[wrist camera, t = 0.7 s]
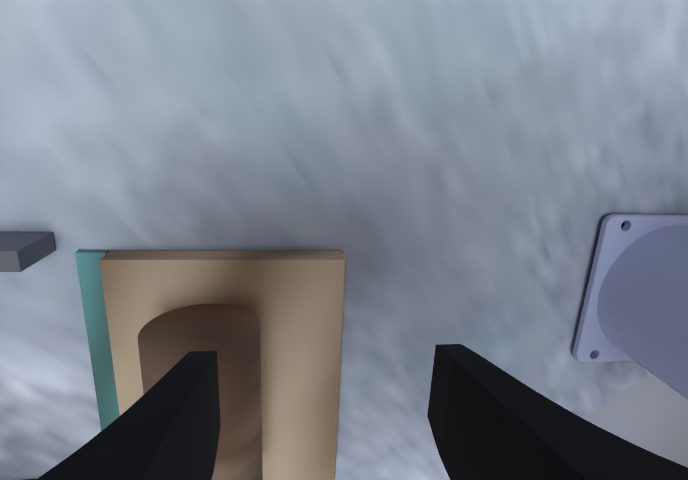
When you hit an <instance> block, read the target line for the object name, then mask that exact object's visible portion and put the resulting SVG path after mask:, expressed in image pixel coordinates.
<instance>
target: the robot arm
mask: <svg viewBox="0 0 688 480" xmlns="http://www.w3.org/2000/svg"><path fill="white" fill-rule="evenodd" d="M624 221H625V225H624V226H623V227H622V228H621V225H622V223H623V222H624ZM592 351H594V352H593V353H592V354H591V352H592ZM573 356H574V358H575V359H577V360H578V361H579V362H582V363H590V362H619V361H636V362H637V363H639V364H640V365H641V366H643V367H644V368H645V369H647V370H648V371H649V372H651V373H652V374H654V375H655V376H656V377H658V378H659V379H660V380H662V381H663V382H665V383H666V384H667V385H669V386H670V387H671V388H673V389H674V390H676V391H677V392H678V393H680V394H681V395H682V396H684V397H685V398H686V399H688V215H667V214H610V215H608V216H606V217H605V219H604V220H603V222H602V225H601V229H600V234H599V238H598V243H597V247H596V252H595V256H594V260H593V265H592V269H591V274H590V278H589V282H588V287H587V291H586V296H585V300H584V305H583V309H582V313H581V318H580V322H579V327H578V331H577V335H576V340H575V344H574V349H573ZM428 419H429V423H430V426H431V429H432V433H433V436H434V439H435V443H436V446H437V449H438V452H439V455H440V457H441V460H442V462H443V464H444V467H445V469H446V471H447V473H448V476H449V478H450V480H688V468H687V467H685V466H682V465H680V464H677V463H675V462H673V461H670V460H668V459H665V458H663V457H661V456H658V455H656V454H654V453H652V452H649V451H647V450H645V449H643V448H641V447H638V446H636V445H634V444H632V443H630V442H628V441H626V440H624V439H621V438H620V437H618V436H616V435H614V434H612V433H610V432H608V431H606V430H604V429H601V428H599V427H597V426H596V425H594V424H592V423H590V422H588V421H586V420H584V419H582V418H581V417H579V416H577V415H575V414H574V413H572V412H570V411H568V410H567V409H565V408H563V407H561V406H560V405H558V404H556V403H554V402H553V401H551V400H549V399H548V398H546V397H544V396H543V395H541V394H539V393H538V392H536V391H534V390H533V389H531V388H530V387H528V386H526V385H525V384H523V383H522V382H520V381H519V380H517V379H515V378H514V377H512V376H511V375H509V374H508V373H506V372H505V371H503V370H501V369H500V368H498V367H497V366H495V365H494V364H492V363H491V362H489V361H488V360H486V359H485V358H483V357H481V356H480V355H478V354H477V353H475V352H473V351H472V350H470V349H468V348H467V347H465V346H463V345H461V344H446V345H436V349H435V357H434V365H433V374H432V382H431V390H430V399H429V407H428ZM220 428H221V421H220V400H219V380H218V360H217V351H189V352H188V353H187V354H186V355H185V356H184V357H183V358H182V359H181V360H180V361H178V362H177V363H176V364H175V365H174V366H173V367H172V368H171V369H170V370H169V371H168V372H167V373H166V374H165V375H164V376H163V377H162V378H161V379H160V380H159V381H158V382H157V383H156V384H155V385H154V386H153V387H151V388H150V389H149V390H148V391H147V392H146V393H145V394H144V395H143V396H142V397H141V398H140V399H138V400H137V401H136V402H135V403H134V404H133V405H132V406H131V407H130V408H129V409H127V410H126V411H125V412H124V413H123V414H121V415H120V416H119V417H118V418H117V419H116V420H114V421H113V422H112V423H111V424H110V425H108V426H107V427H106V428H105V429H104V430H102V431H101V432H100V433H99V434H98V435H96V436H95V437H94V438H93V439H91V440H90V441H89V442H88V443H86V444H85V445H84V446H82V447H81V448H80V449H78V450H77V451H76V452H74V453H73V454H72V455H70V456H69V457H68V458H66V459H65V460H63V461H62V462H61V463H59V464H58V465H56V466H55V467H53V468H52V469H51V470H49V471H48V472H46V473H45V474H44V475H42V476H41V477H39V478H38V479H36V480H212V476H213V472H214V467H215V461H216V455H217V448H218V441H219V434H220Z"/></svg>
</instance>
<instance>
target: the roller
mask: <svg viewBox="0 0 688 480" xmlns="http://www.w3.org/2000/svg"><path fill="white" fill-rule="evenodd" d="M138 348H139V357H140V366H141V375H142V385H143V394H145V393H146V392H147V391H148V390H149V389H150V388H151V387H153V386H154V385H155V384H156V383H157V382H158V381H159V380H160V379H161V378H162V377H163V376H164V375H165V374H166V373H167V372H168V371H169V370H170V369H171V368H172V367H173V366H174V365H175V364H176V363H177V362H178V361H180V360H181V359H182V358H183V357H184V356H185V355H186V354H187V353H188V352H189V351H217V360H218V380H219V400H220V421H221V428H220V434H219V441H218V448H217V455H216V461H215V467H214V472H213V476H212V480H263V473H262V407H261V341H260V322H259V319H258V318H257V317H256V316H255V315H254V314H253V313H252V312H250V311H248V310H246V309H244V308H241V307H237V306H233V305H227V304H198V305H191V306H186V307H181V308H178V309H174V310H171V311H168V312H166V313H163V314H161V315H159V316H157V317H155V318H154V319H152V320H150V321H149V322H148V323H147V324H146V325H144V326H143V328H142V329H141V330H140V332H139V334H138Z"/></svg>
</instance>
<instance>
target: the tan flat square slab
mask: <svg viewBox="0 0 688 480" xmlns="http://www.w3.org/2000/svg"><path fill="white" fill-rule="evenodd" d="M75 254H76V261H77V267H78V274H79V281H80V288H81V295H82V301H83V308H84V315H85V322H86V328H87V335H88V342H89V349H90V356H91V362H92V369H93V376H94V383H95V390H96V396H97V403H98V410H99V417H100V423H101V430H104V429H105V428H106V427H107V426H108V425H110V424H111V423H112V422H113V421H114V420H116V419H117V418H118V417H119V416H120V415H121V414H123V413H124V412H125V411H126V410H127V409H129V408H130V407H131V406H132V405H133V404H134V403H135V402H136V401H137V400H138V399H140V398H141V397H142V396H143V395H144V394H143V385H142V375H141V366H140V357H139V348H138V334H139V332H140V330H141V329H142V328H143V326H144V325H146V324H147V323H148V322H149V321H150V320H152V319H154V318H155V317H157V316H159V315H161V314H163V313H166V312H168V311H171V310H174V309H178V308H181V307H186V306H191V305H198V304H227V305H233V306H237V307H241V308H244V309H246V310H248V311H250V312H252V313H253V314H254V315H255V316H256V317H257V318H258V319H259V322H260V341H261V407H262V473H263V480H335V473H336V452H337V430H338V409H339V388H340V367H341V346H342V325H343V303H344V282H345V261H346V260H345V257H344V254H343V252H342V251H161V250H111V251H110V252H109V250H78V251H77V252H75Z"/></svg>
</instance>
